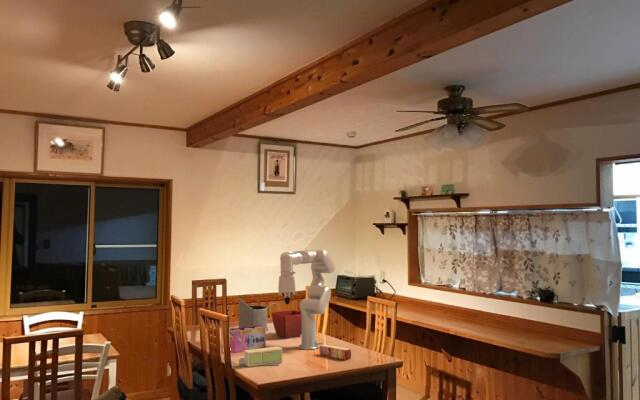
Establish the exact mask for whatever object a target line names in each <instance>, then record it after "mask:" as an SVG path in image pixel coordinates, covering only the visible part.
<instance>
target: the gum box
mask: <svg viewBox="0 0 640 400" xmlns="http://www.w3.org/2000/svg"><path fill="white" fill-rule="evenodd" d="M229 333H230V348H231V351H230V352H231V353H233V354H235V353H242V352H245V350H252V349H261V348H266V332H265V327H262V326H251V327H244V328H239V327H236V328H229V329H228V334H229Z"/></svg>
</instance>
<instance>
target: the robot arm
mask: <svg viewBox="0 0 640 400" xmlns="http://www.w3.org/2000/svg"><path fill="white" fill-rule="evenodd" d="M279 259H280V276H279V278H278V293H277V294H278V295H279V296H282V297H283V298H284V303H285V305H289V304H291V299H290V298H291V297H292V295H295V294H296V293H297V292H296V280H295V274H296V272H295V271H294V268H293V267H294V266H293V265H295V266H296V265H300V264H305V265H306V264H310V269H311V273H312V274H311V275H312V280H311V283H310V285H309V288H308V290H307V293H306V295H307V298H303V299H302V300H301V301H300V302H299V312H301V336H300V340H301V341H300V344H299V345H298V348H299V349H301V350H315V349H318V348H319V345H320V346H321V345H324V341H320V340H319V341H318V340H317V336H316V335H317V334H316V333H317V331H316V329H317V320H316V317H315V315H323V314H324V313H325V312H326V311H327V310H326V309H327V307H328V305H329V301H330V300H331V296H332V291H331V288H330V287H329V286H326V285H325V283H326V282H325V278H324V276H323V275H322V274H333V273H334V272H335V270H336V266H335V262H334V261H333V258H332V257H331V255H330V254H329V252H328V251H327V250H325V249H309V250H307V249H305V250H298V251H297V250H295V251H283V252H282V253H281V254H280V257H279Z"/></svg>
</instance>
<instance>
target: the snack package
mask: <svg viewBox="0 0 640 400" xmlns="http://www.w3.org/2000/svg"><path fill="white" fill-rule="evenodd" d="M319 355H320V356H325V357H329V358H333V359H338V360H343V361H349V360H350V359H351V358H352V349H351V348H348V347H342V346H335V345H329V344H325V343H323V345H320V346H319Z"/></svg>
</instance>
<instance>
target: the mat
mask: <svg viewBox="0 0 640 400" xmlns="http://www.w3.org/2000/svg"><path fill="white" fill-rule="evenodd" d="M276 366H277V367H278V366H279V363H273V364H265V365H258V366H257V367H276ZM239 367H240V368H248V366H247V365H245V357H240V358H239ZM251 367H254V368H255V366H250V367H249V368H251Z"/></svg>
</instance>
